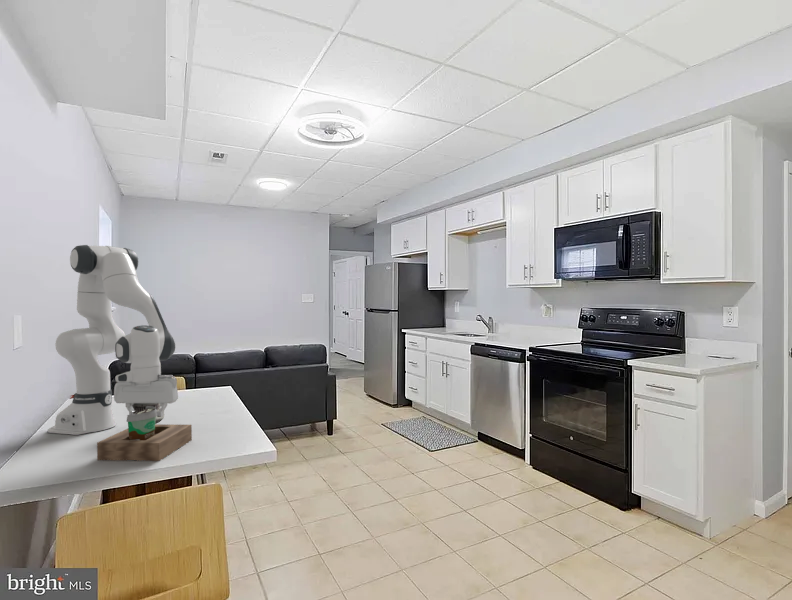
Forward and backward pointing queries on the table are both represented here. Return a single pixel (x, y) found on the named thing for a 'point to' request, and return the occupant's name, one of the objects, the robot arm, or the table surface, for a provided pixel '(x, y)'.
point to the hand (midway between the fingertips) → (146, 416)
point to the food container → (142, 424)
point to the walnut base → (144, 444)
